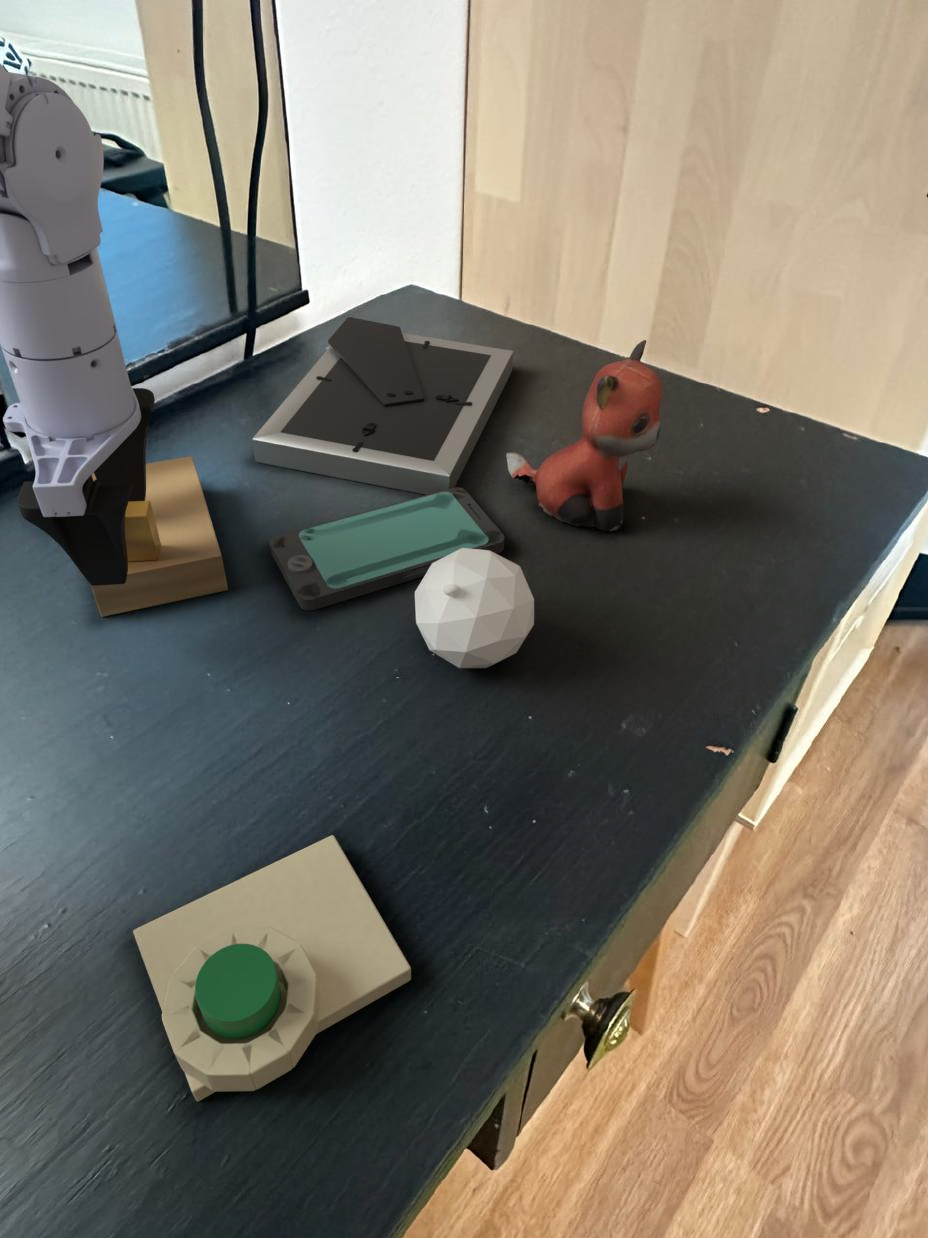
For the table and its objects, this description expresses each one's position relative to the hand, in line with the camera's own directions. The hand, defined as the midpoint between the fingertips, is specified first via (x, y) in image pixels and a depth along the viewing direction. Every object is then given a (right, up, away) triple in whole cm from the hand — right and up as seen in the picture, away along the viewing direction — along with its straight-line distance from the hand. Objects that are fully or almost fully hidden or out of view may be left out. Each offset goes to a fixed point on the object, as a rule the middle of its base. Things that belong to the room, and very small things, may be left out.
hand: (119, 540), depth 56 cm
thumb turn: (0, -1, +1) cm, 1 cm away
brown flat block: (0, 0, +6) cm, 6 cm away
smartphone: (+16, 0, +7) cm, 18 cm away
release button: (+12, -21, -19) cm, 31 cm away
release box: (+13, -21, -15) cm, 28 cm away
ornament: (+22, -7, 0) cm, 23 cm away
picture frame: (+16, +12, +20) cm, 28 cm away
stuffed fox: (+30, +4, +12) cm, 32 cm away
